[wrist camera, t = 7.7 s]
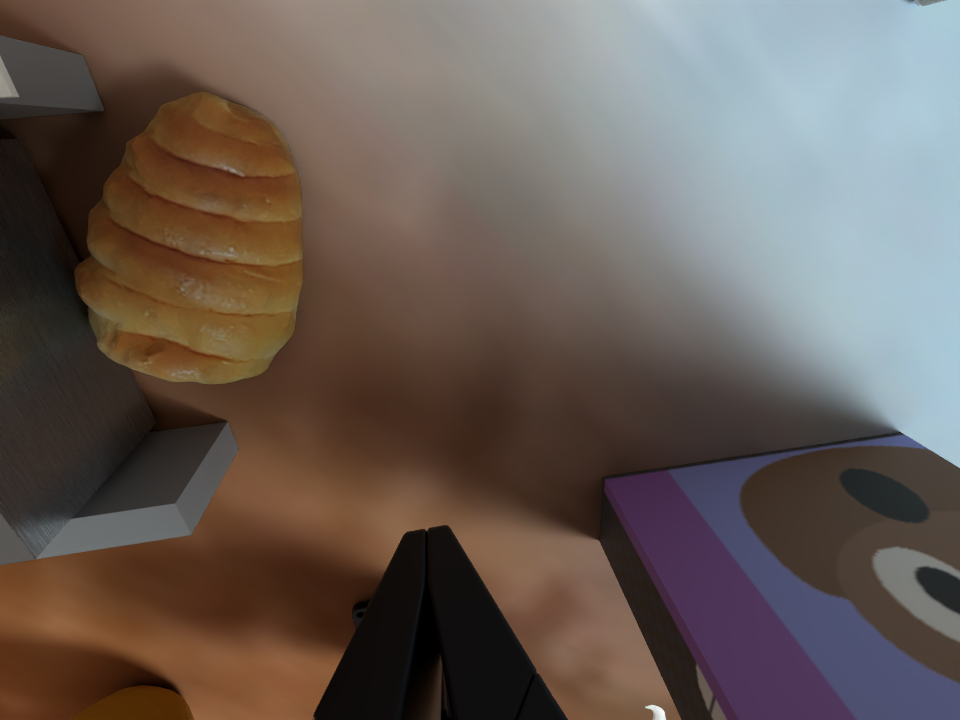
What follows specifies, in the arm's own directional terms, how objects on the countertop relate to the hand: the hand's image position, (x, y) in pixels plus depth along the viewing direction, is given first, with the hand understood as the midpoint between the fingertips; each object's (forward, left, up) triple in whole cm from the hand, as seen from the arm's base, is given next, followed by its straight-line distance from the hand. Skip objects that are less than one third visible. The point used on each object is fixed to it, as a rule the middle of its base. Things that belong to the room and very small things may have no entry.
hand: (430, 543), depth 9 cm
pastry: (+4, +7, -12) cm, 15 cm away
